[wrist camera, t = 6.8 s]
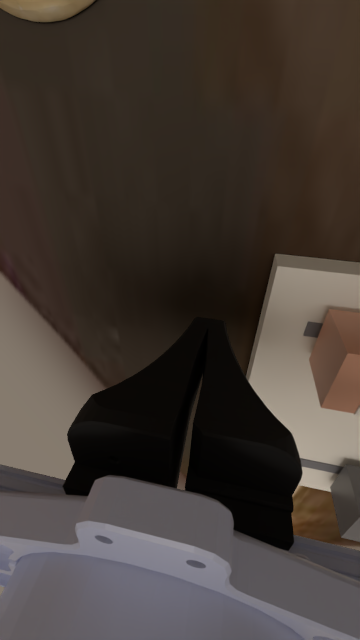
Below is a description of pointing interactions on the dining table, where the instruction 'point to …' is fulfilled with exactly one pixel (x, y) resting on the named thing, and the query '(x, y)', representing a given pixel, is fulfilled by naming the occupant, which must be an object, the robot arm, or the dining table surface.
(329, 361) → the fader terracotta
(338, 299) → the console
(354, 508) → the fader charcoal
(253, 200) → the dining table surface
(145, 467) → the robot arm
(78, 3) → the hand bell
